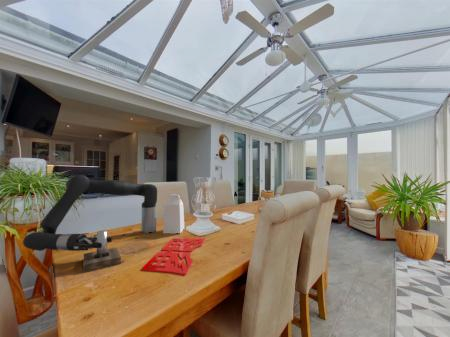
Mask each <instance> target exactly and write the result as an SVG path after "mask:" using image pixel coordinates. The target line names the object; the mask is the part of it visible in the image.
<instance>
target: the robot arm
mask: <svg viewBox="0 0 450 337" xmlns="http://www.w3.org/2000/svg"><path fill="white" fill-rule="evenodd" d="M65 187H66V190H65V191H64V193H63V194H62V196H61V197H60V199H59V200H58V201H57V202H56V203H55V204H54V205H53V206H52V208H51V209H50V210H48V213H47V214H46V215H45V216H44V218H43V219H42V220H41V222H40V224H39V226H40V227H41V229H42V232H41V231H40V232H39V231H34V232H31V233H28V234H27V235H26V236H25V237H24V238H23V241H22V245H23V246H24V247H25V248H27V249H28V250H29V249H31V250H34V251H38V252H40V251H41V252H43V251H45V250H51V251H68V252H69V251H74V252H75V251H76V252H79V251H80V252H81V251H88V250H89V249H90V250H92V249H97V248H101V247H102V243H97V234H94V235H93V236H87V235H86V234H85V233H57V230H58V227H59V226H60V225H61V223H62V221H64V219H65V217H66V215H67V214H68V212H69V211H70V209H71V208H72V207H73V205H74V204H75V202H76V201H77V200H78V198H79V197H81V195H82V194H83V193H91V194H92V193H96V194H102V195H110V196H129V195H132V196H133V195H136V196H139V197H140V196H141V197H144V200H143V202H141V226H140V227H141V228H140V230H141V233H142V234H149V232H152V233H154V231H155V232H157V217H156V215H157V214H156V210H157V207H156V204H157V202H158V188H157V186H156V185H155V184H150V183H139V184H138V183H131V182H129V181H124V180H118V179H117V180H116V179H103V180H101V179H100V180H96V179H95V180H93V179H89V177H88V176H86V175H84V174H78V175H77V174H76V175H74V176H72V177H70V178H69V179H68V180H67V181H66V182H65ZM111 242H113V237H111V236H107V243H111Z"/></svg>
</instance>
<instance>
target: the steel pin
mask: <svg viewBox="0 0 450 337" xmlns="http://www.w3.org/2000/svg"><path fill="white" fill-rule="evenodd" d="M96 235H97V241H96V242H97V243H102V247H101V248H96V251H97V258H102V257H107V249H108V242H107V237H108V230H105V229H104V230H103V229H102V230H98V231H97V232H96Z"/></svg>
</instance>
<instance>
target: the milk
mask: <svg viewBox="0 0 450 337" xmlns="http://www.w3.org/2000/svg"><path fill="white" fill-rule="evenodd" d="M184 212H185V211H184V202H183V201H182V198H181V197H180V195H179V194H174V193H173V194H169V196H168V198H167V200H166V202H165V205H164V210H163V228H162V234H163V233H181V232H182V231H183V229H184V230H185V213H184ZM183 232H184V231H183ZM183 232H182V233H183ZM182 233H181V234H182Z"/></svg>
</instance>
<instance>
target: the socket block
mask: <svg viewBox="0 0 450 337" xmlns="http://www.w3.org/2000/svg"><path fill="white" fill-rule="evenodd" d="M121 262H122V258H121V253H120V252H119V249H118V247H113V248H107V257H102V258H97V250H96V251H91V252H85V253H83V264H82V265H83V266H82V273H85V272H90V271H95V270H99V269H103V268H108V267H111V266H112V267H113V266H117V265H120V264H122V263H121Z"/></svg>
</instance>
